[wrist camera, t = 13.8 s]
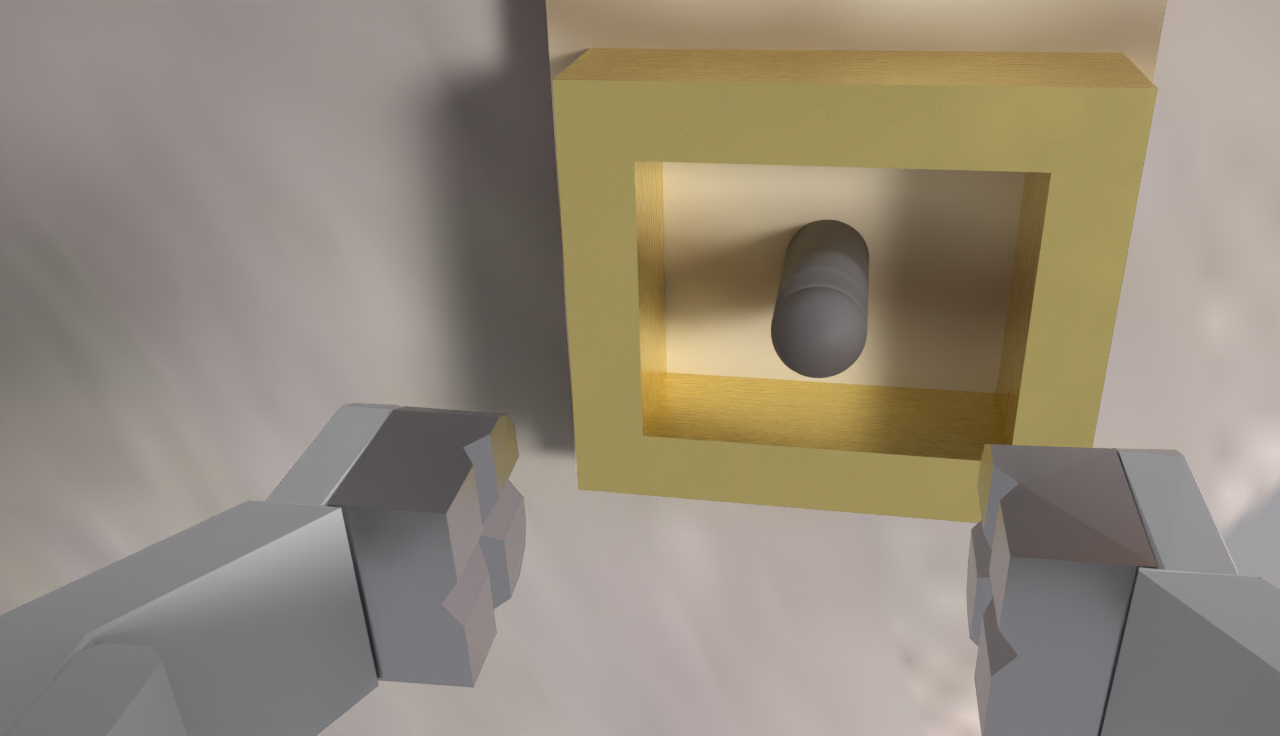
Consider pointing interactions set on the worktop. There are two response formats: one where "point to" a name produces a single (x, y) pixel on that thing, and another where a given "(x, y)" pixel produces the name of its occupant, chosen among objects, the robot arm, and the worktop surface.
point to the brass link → (840, 137)
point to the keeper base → (843, 199)
